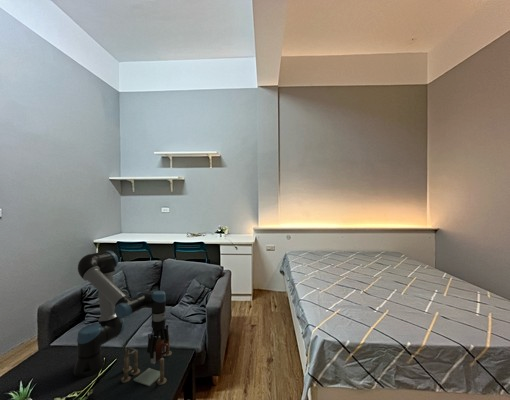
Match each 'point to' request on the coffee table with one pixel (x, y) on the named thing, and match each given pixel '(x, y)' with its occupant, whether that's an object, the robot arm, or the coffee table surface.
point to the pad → (148, 377)
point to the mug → (159, 349)
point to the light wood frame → (128, 368)
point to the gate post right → (161, 373)
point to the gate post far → (168, 349)
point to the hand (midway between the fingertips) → (158, 359)
